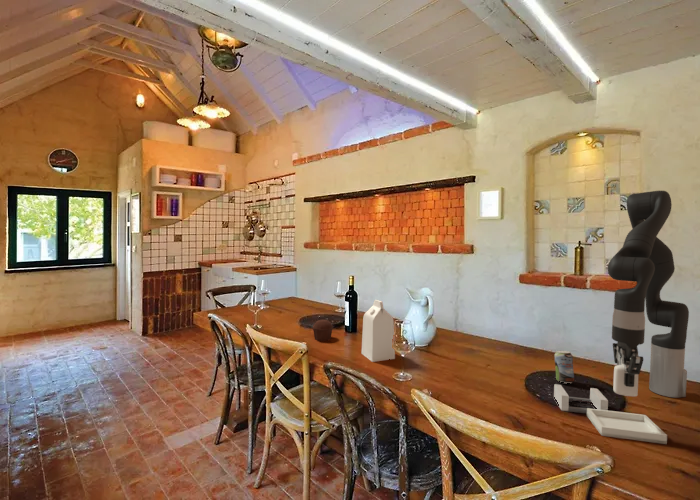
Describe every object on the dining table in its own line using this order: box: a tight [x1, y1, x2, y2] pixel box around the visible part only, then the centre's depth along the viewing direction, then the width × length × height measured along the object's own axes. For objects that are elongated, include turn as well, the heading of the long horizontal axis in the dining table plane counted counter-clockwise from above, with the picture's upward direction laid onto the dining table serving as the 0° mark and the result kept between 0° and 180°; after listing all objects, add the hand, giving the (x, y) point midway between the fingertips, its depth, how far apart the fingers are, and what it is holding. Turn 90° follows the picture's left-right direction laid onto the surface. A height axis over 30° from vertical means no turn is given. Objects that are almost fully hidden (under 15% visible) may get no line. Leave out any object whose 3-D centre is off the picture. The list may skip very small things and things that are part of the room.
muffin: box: [312, 319, 334, 342], centre depth 197 cm, size 12×11×10 cm
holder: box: [553, 383, 609, 414], centre depth 121 cm, size 13×9×5 cm
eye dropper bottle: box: [612, 357, 639, 397], centre depth 106 cm, size 4×6×12 cm
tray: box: [586, 407, 668, 445], centre depth 107 cm, size 16×12×2 cm
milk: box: [361, 299, 396, 363], centre depth 169 cm, size 12×12×26 cm
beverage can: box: [554, 350, 575, 384], centre depth 141 cm, size 6×7×12 cm
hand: (625, 383), depth 107 cm, fingers closed on eye dropper bottle, 3 cm apart
